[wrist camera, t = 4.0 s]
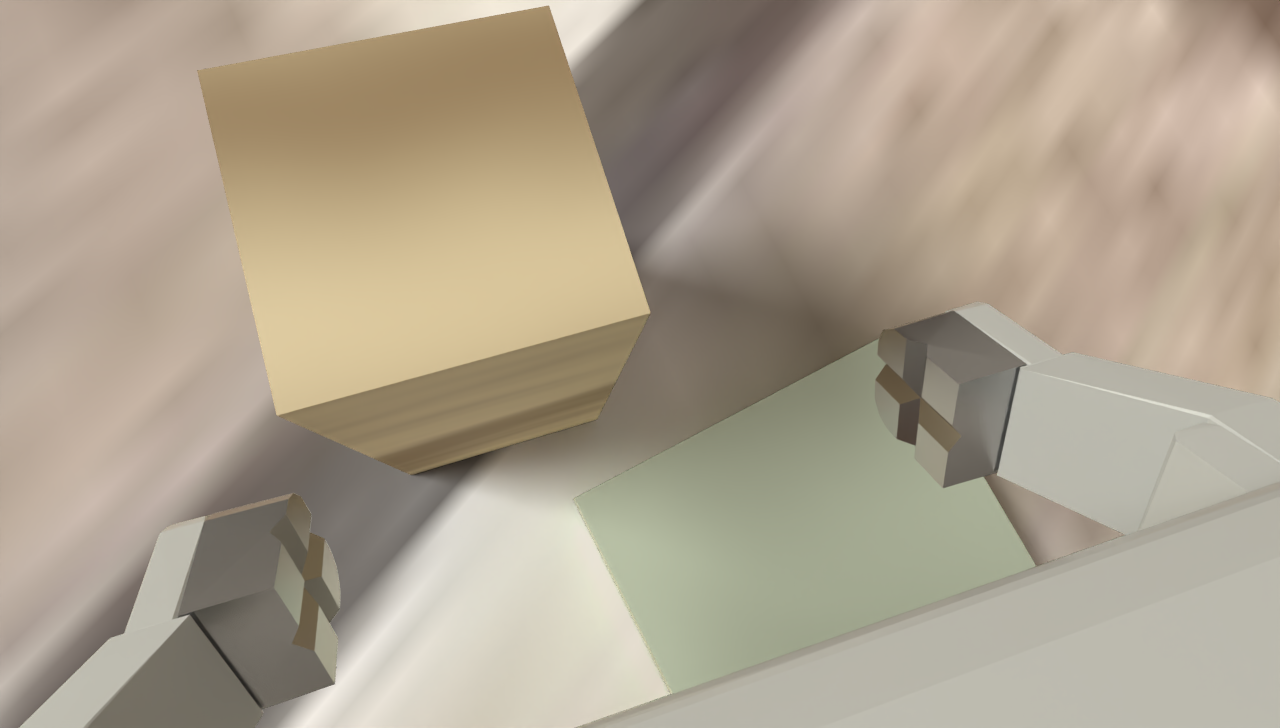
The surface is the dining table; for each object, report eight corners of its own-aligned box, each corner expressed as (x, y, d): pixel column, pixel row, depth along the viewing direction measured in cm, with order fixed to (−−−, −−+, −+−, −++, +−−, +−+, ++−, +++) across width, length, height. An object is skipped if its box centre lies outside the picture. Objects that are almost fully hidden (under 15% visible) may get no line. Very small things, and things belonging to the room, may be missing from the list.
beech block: (597, 419, 20) (650, 312, 10) (411, 474, 19) (277, 415, 9) (544, 250, 21) (548, 4, 11) (364, 295, 20) (197, 70, 10)
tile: (1067, 657, 20) (1093, 663, 19) (758, 869, 18) (770, 889, 17) (880, 338, 21) (896, 328, 20) (573, 499, 19) (574, 497, 18)
